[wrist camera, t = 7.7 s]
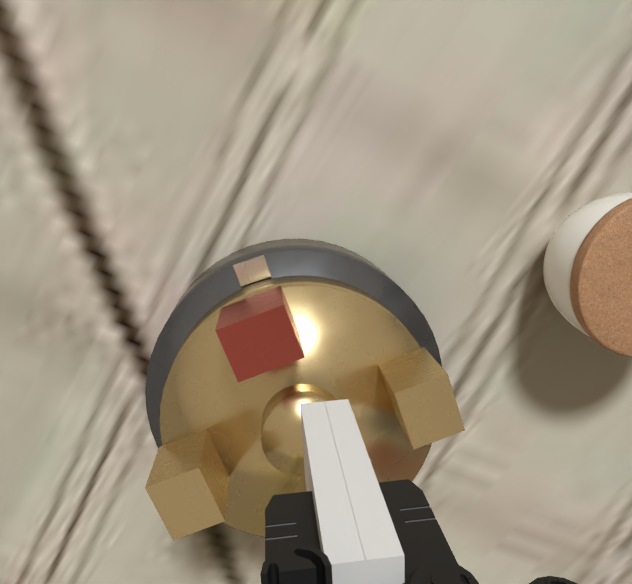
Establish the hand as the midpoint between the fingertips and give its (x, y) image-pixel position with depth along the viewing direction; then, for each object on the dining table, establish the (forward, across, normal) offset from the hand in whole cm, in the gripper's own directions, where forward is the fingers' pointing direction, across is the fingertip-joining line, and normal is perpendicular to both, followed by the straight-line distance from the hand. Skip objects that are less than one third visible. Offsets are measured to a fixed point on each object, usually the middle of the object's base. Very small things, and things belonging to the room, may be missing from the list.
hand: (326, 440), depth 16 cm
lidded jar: (+23, +23, 0) cm, 32 cm away
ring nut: (+17, 0, -7) cm, 18 cm away
